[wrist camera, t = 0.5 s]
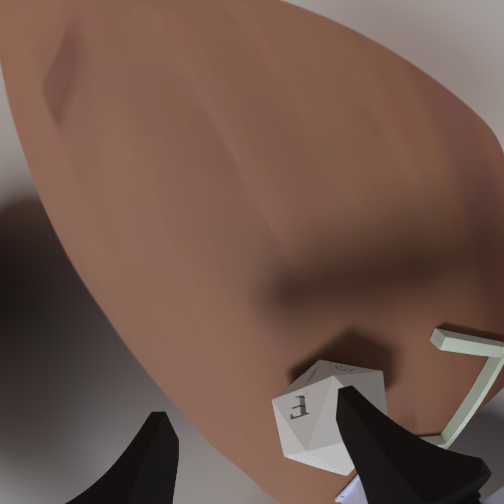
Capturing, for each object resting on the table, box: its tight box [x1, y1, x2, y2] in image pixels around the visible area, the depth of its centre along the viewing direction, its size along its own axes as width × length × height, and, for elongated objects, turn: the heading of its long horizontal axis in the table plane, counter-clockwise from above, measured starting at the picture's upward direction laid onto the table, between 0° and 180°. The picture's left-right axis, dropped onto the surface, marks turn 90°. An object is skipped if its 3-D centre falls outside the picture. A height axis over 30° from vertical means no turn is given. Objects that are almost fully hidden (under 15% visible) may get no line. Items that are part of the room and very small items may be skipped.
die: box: [272, 360, 387, 476], centre depth 18 cm, size 8×9×10 cm
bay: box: [419, 328, 504, 450], centre depth 22 cm, size 14×12×2 cm
